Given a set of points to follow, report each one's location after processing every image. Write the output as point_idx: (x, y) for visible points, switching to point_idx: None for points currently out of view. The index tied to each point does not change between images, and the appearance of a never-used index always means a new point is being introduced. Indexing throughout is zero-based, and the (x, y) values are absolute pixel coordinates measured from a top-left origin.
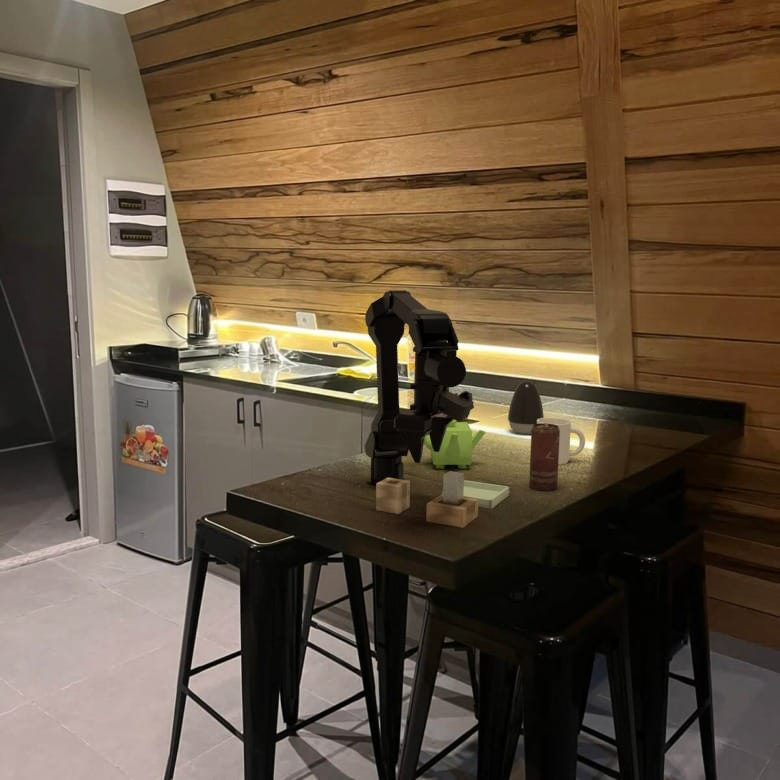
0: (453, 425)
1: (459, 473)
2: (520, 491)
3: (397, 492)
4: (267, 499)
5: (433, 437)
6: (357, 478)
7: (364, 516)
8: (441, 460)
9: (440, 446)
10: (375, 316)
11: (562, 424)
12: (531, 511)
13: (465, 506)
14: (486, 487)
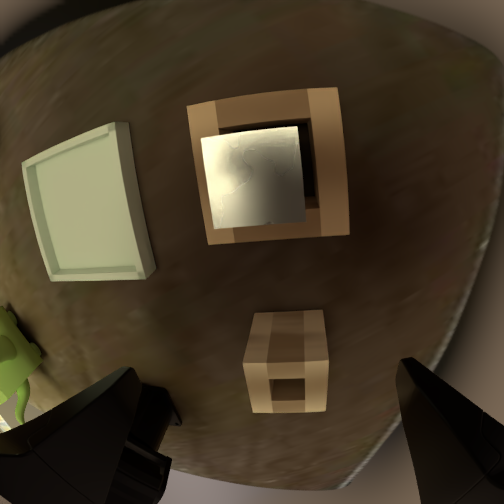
0: None
1: (222, 156)
2: (14, 159)
3: (327, 350)
4: (348, 468)
5: (110, 444)
6: (171, 436)
7: (374, 355)
8: (29, 353)
9: (107, 380)
10: None
11: None
12: (95, 46)
13: (297, 97)
14: (40, 214)
